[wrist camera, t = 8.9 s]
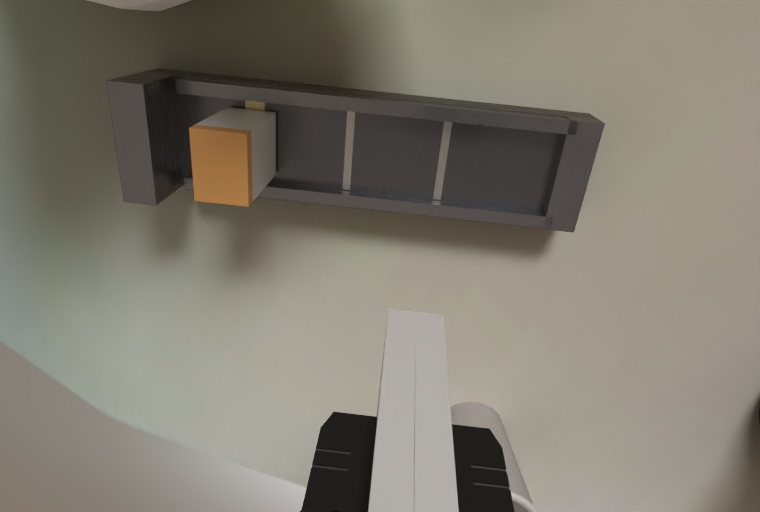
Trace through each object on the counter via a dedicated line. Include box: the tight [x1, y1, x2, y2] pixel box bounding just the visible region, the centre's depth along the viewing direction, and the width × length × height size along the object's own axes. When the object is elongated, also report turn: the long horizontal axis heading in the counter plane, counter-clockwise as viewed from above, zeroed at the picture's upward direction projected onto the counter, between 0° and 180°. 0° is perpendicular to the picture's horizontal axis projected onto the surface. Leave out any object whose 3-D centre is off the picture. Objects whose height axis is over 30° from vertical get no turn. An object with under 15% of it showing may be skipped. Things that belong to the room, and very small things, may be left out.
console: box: [107, 69, 605, 232], centre depth 32 cm, size 7×28×6 cm, turn 85°
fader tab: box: [189, 107, 276, 207], centre depth 30 cm, size 4×3×6 cm
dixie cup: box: [450, 402, 538, 512], centre depth 40 cm, size 8×8×10 cm
